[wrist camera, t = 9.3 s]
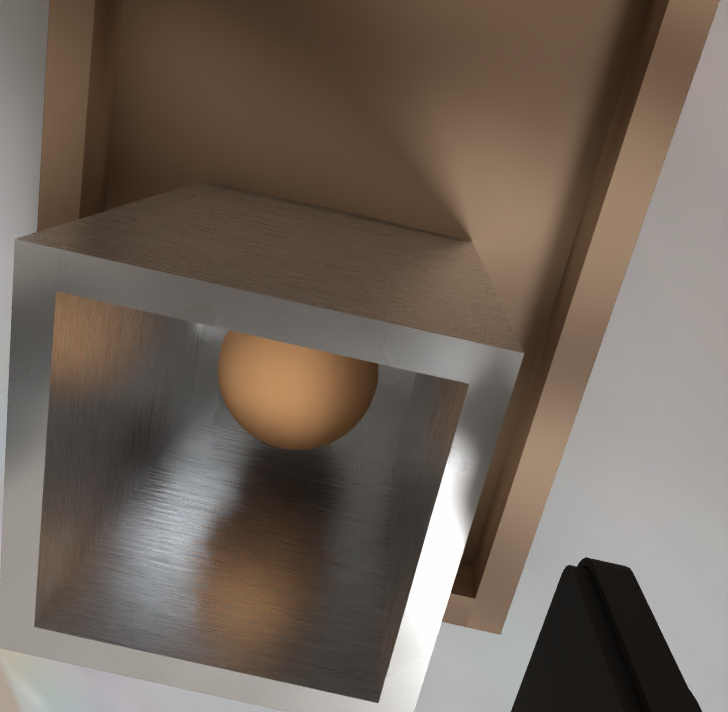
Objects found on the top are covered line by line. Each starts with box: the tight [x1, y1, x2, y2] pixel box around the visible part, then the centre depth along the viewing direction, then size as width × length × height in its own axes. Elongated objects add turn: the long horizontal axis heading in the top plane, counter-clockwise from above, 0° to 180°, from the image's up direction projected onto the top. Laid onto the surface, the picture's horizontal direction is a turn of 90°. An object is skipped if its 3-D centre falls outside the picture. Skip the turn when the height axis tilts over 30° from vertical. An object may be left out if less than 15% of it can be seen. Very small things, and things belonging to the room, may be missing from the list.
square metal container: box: [0, 181, 524, 712], centre depth 15 cm, size 7×7×9 cm
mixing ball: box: [218, 330, 378, 450], centre depth 17 cm, size 4×4×4 cm
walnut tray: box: [37, 0, 720, 634], centre depth 18 cm, size 18×14×2 cm
